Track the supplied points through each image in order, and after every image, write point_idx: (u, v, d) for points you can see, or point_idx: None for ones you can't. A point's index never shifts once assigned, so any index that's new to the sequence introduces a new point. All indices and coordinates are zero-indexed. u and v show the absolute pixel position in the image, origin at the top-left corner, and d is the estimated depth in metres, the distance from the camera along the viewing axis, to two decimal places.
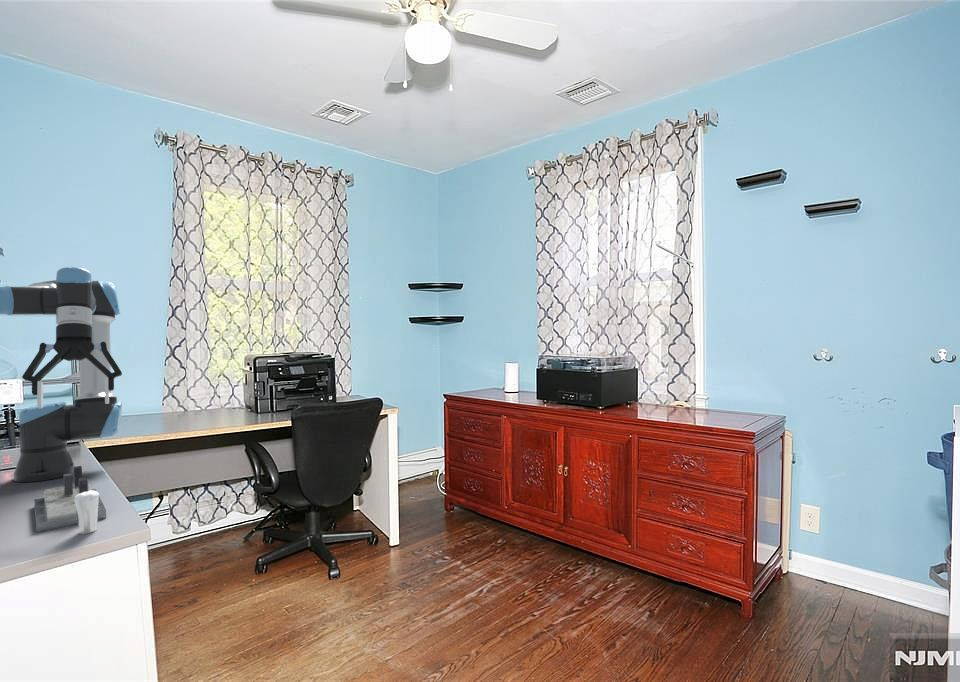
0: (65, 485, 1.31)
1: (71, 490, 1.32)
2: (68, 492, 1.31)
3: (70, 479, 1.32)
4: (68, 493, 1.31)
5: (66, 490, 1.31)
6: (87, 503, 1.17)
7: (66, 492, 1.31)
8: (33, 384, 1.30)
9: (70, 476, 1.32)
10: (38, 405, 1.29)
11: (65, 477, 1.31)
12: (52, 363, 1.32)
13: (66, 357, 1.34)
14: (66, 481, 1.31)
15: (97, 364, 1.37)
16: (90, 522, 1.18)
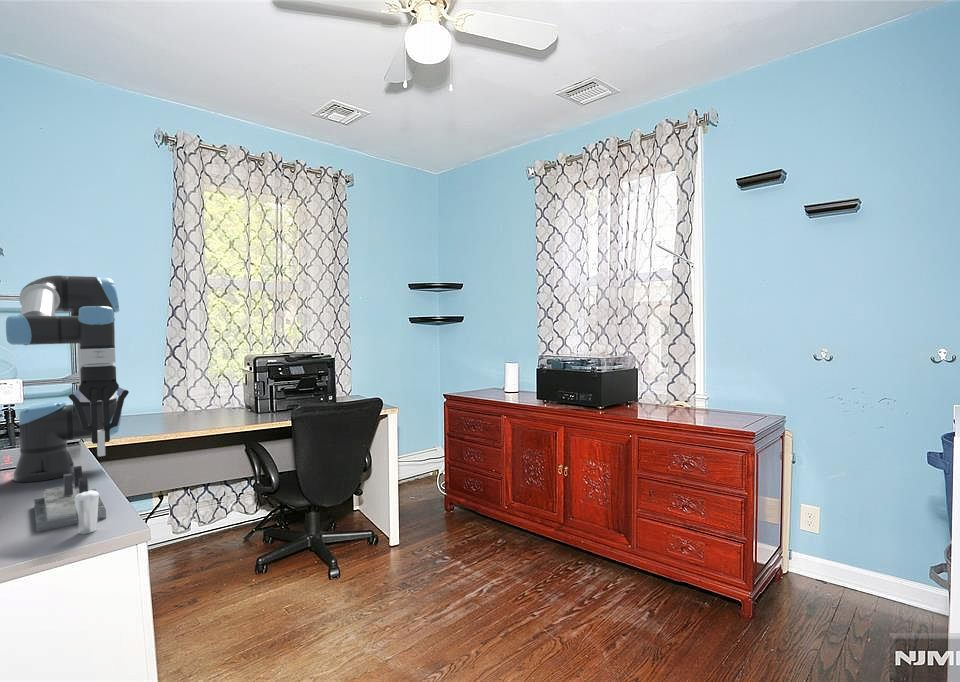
0: (65, 485, 1.31)
1: (71, 490, 1.32)
2: (68, 492, 1.31)
3: (70, 479, 1.32)
4: (68, 493, 1.31)
5: (66, 490, 1.31)
6: (87, 503, 1.17)
7: (66, 492, 1.31)
8: (93, 434, 1.35)
9: (70, 476, 1.32)
10: (99, 454, 1.35)
11: (65, 477, 1.31)
12: (95, 409, 1.35)
13: None
14: (66, 481, 1.31)
15: (105, 412, 1.36)
16: (90, 522, 1.18)
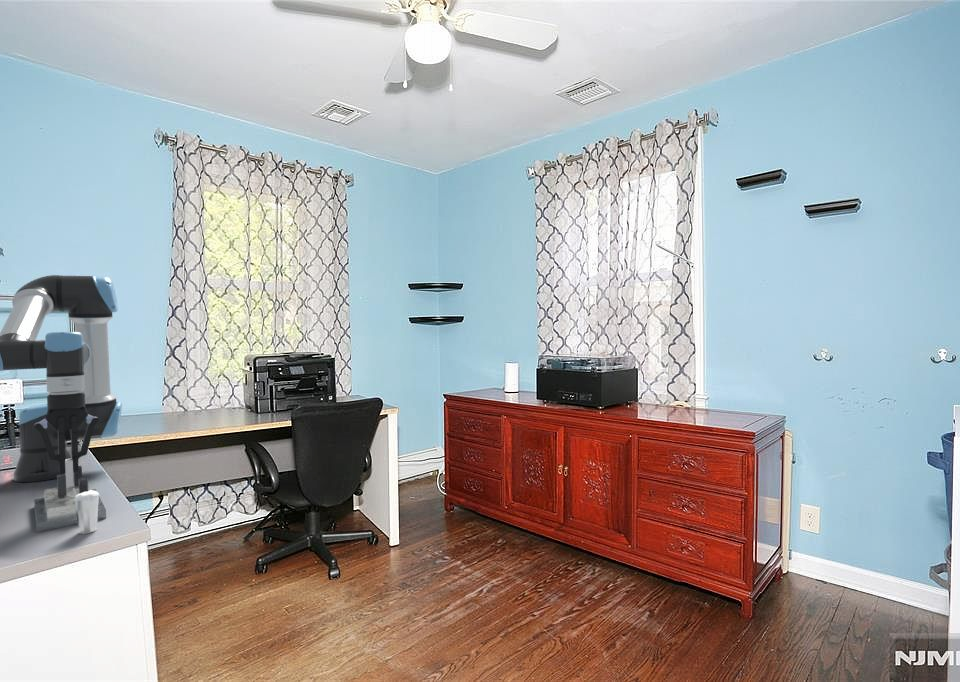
0: (59, 486, 1.30)
1: (65, 491, 1.31)
2: (62, 493, 1.30)
3: (64, 480, 1.31)
4: (62, 494, 1.30)
5: (60, 491, 1.30)
6: (87, 503, 1.17)
7: (60, 493, 1.30)
8: (60, 463, 1.31)
9: (64, 477, 1.31)
10: (67, 485, 1.31)
11: (59, 478, 1.30)
12: (62, 438, 1.31)
13: None
14: (60, 482, 1.30)
15: (73, 440, 1.32)
16: (90, 522, 1.18)
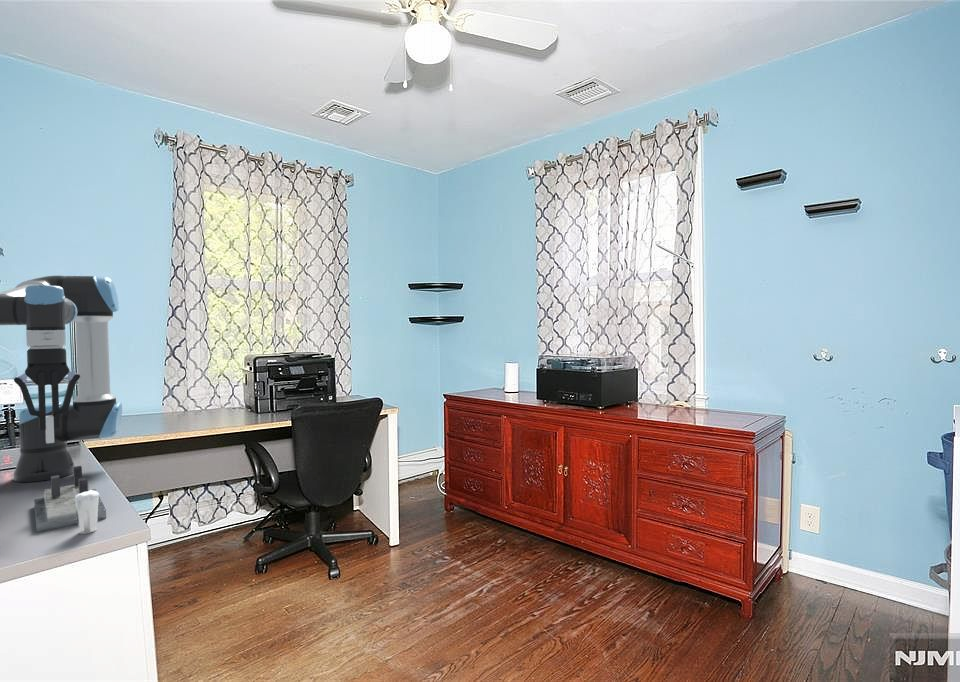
0: (52, 487, 1.29)
1: (58, 492, 1.30)
2: (55, 494, 1.30)
3: (57, 481, 1.30)
4: (55, 495, 1.30)
5: (53, 492, 1.29)
6: (87, 503, 1.17)
7: (53, 494, 1.29)
8: (41, 420, 1.28)
9: (57, 478, 1.30)
10: (47, 441, 1.29)
11: (52, 479, 1.29)
12: (42, 394, 1.28)
13: None
14: (53, 483, 1.29)
15: (54, 396, 1.30)
16: (90, 522, 1.18)
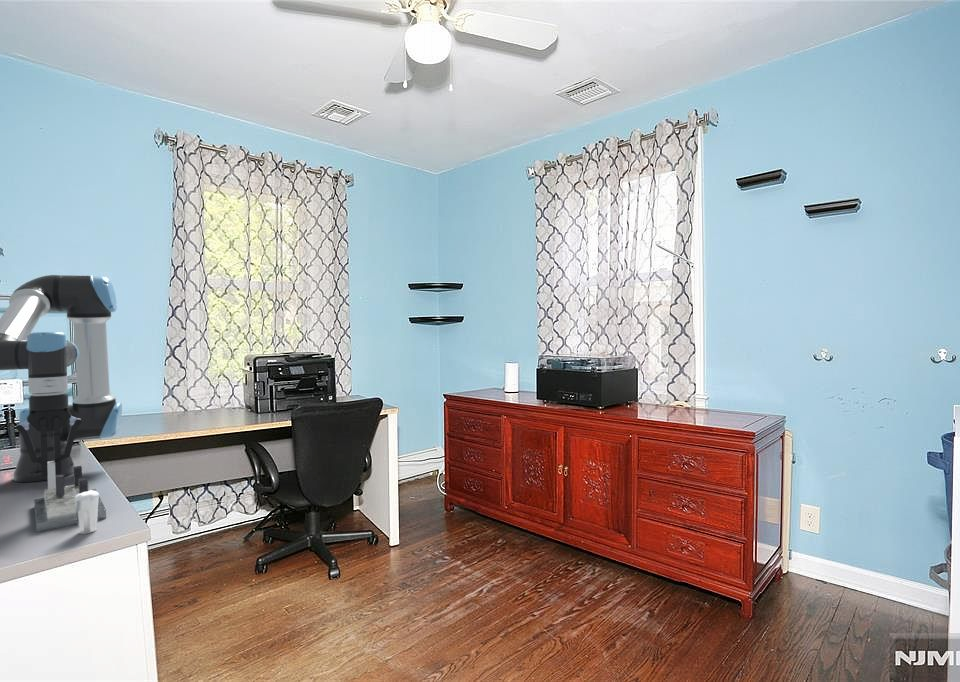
0: (56, 486, 1.30)
1: (63, 491, 1.31)
2: (60, 493, 1.30)
3: (62, 480, 1.30)
4: (60, 494, 1.30)
5: (57, 491, 1.30)
6: (87, 503, 1.17)
7: (57, 493, 1.30)
8: (42, 466, 1.29)
9: (62, 477, 1.30)
10: (49, 488, 1.29)
11: (56, 478, 1.30)
12: (44, 440, 1.28)
13: None
14: (57, 482, 1.30)
15: (56, 443, 1.30)
16: (90, 522, 1.18)
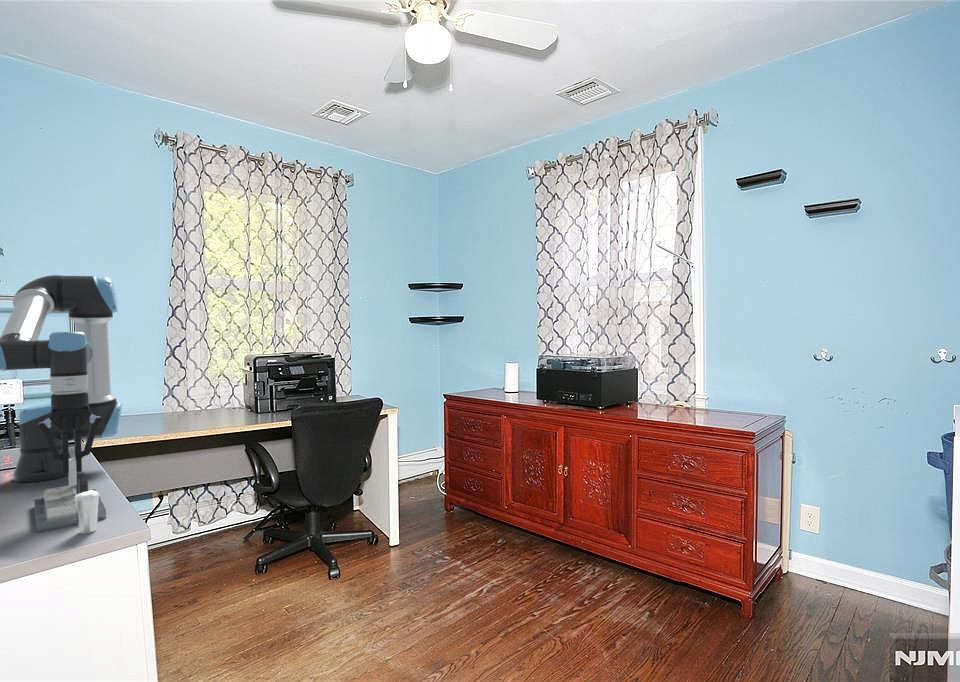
0: (77, 483, 1.33)
1: None
2: None
3: (82, 477, 1.33)
4: None
5: (78, 488, 1.33)
6: (87, 503, 1.17)
7: (78, 490, 1.33)
8: (64, 463, 1.31)
9: (82, 474, 1.33)
10: (70, 484, 1.32)
11: (77, 475, 1.33)
12: (66, 438, 1.31)
13: None
14: (78, 479, 1.33)
15: (77, 440, 1.33)
16: (90, 522, 1.18)
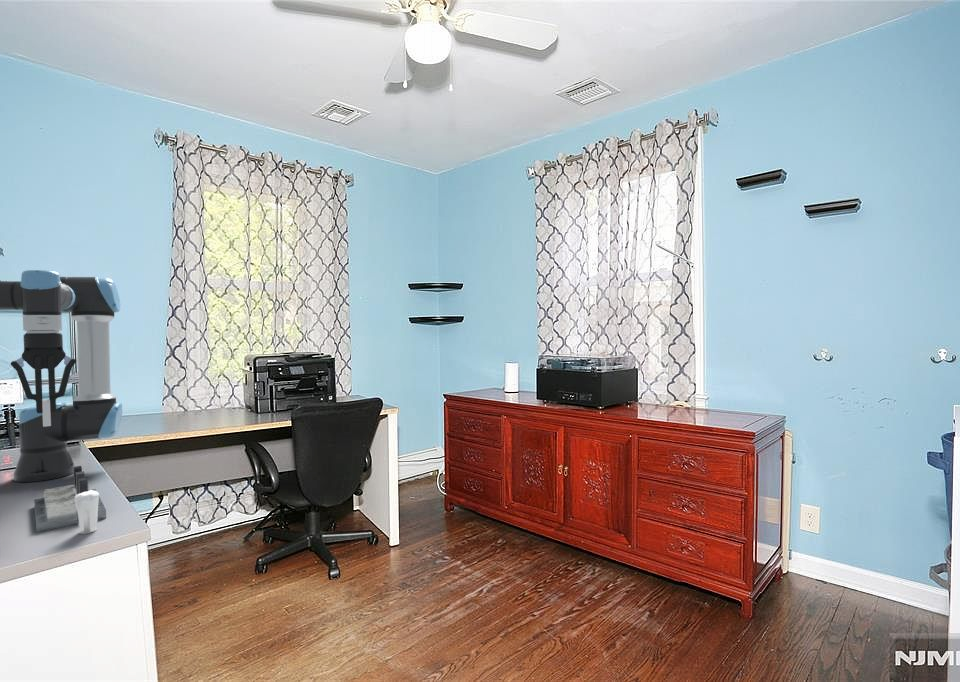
0: (77, 483, 1.33)
1: None
2: None
3: (82, 477, 1.33)
4: None
5: (78, 488, 1.33)
6: (87, 503, 1.17)
7: (78, 490, 1.33)
8: (37, 403, 1.30)
9: (82, 474, 1.33)
10: (44, 424, 1.30)
11: (77, 475, 1.33)
12: (39, 377, 1.30)
13: None
14: (78, 479, 1.33)
15: (51, 380, 1.31)
16: (90, 522, 1.18)
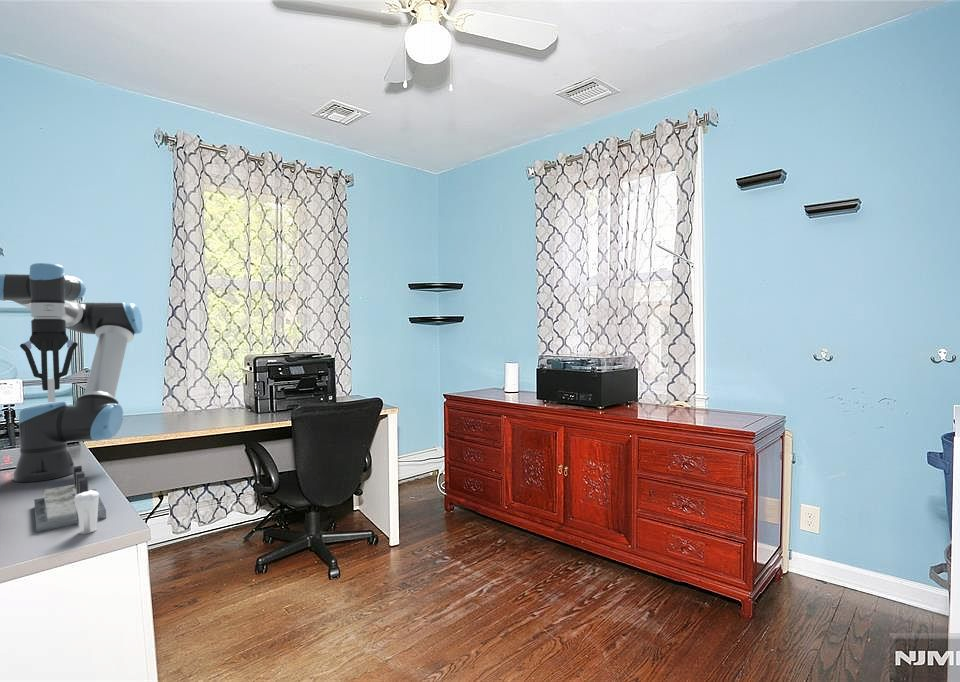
0: (77, 483, 1.33)
1: None
2: None
3: (82, 477, 1.33)
4: None
5: (78, 488, 1.33)
6: (87, 503, 1.17)
7: (78, 490, 1.33)
8: (43, 381, 1.46)
9: (82, 474, 1.33)
10: (49, 400, 1.47)
11: (77, 475, 1.33)
12: (45, 358, 1.46)
13: None
14: (78, 479, 1.33)
15: (55, 361, 1.48)
16: (90, 522, 1.18)
